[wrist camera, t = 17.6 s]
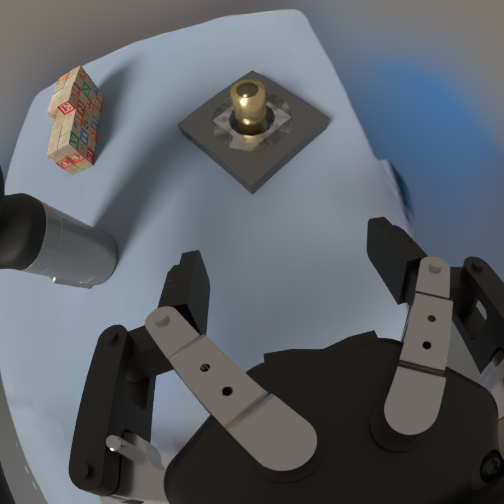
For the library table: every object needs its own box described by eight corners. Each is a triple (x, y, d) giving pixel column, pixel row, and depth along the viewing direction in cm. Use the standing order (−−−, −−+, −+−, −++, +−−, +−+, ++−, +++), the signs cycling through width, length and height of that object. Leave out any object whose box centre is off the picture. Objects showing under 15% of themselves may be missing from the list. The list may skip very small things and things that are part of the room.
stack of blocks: (94, 166, 46) (59, 135, 34) (72, 176, 47) (35, 149, 35) (104, 95, 51) (80, 64, 39) (84, 105, 51) (59, 77, 39)
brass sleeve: (253, 145, 44) (246, 106, 34) (232, 130, 44) (222, 91, 35) (273, 128, 44) (272, 88, 34) (253, 114, 45) (247, 74, 35)
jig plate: (252, 194, 42) (250, 186, 39) (182, 134, 45) (177, 124, 42) (326, 128, 43) (328, 118, 40) (253, 80, 47) (252, 70, 44)
